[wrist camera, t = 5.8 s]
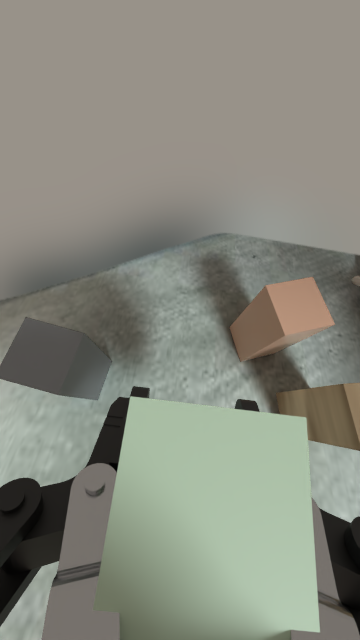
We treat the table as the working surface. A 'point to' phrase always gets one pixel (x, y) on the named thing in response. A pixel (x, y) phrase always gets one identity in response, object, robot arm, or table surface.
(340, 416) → the oak block
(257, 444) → the green block
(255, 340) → the terracotta block
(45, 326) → the charcoal block
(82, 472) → the robot arm
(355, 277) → the figurine
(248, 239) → the table surface
